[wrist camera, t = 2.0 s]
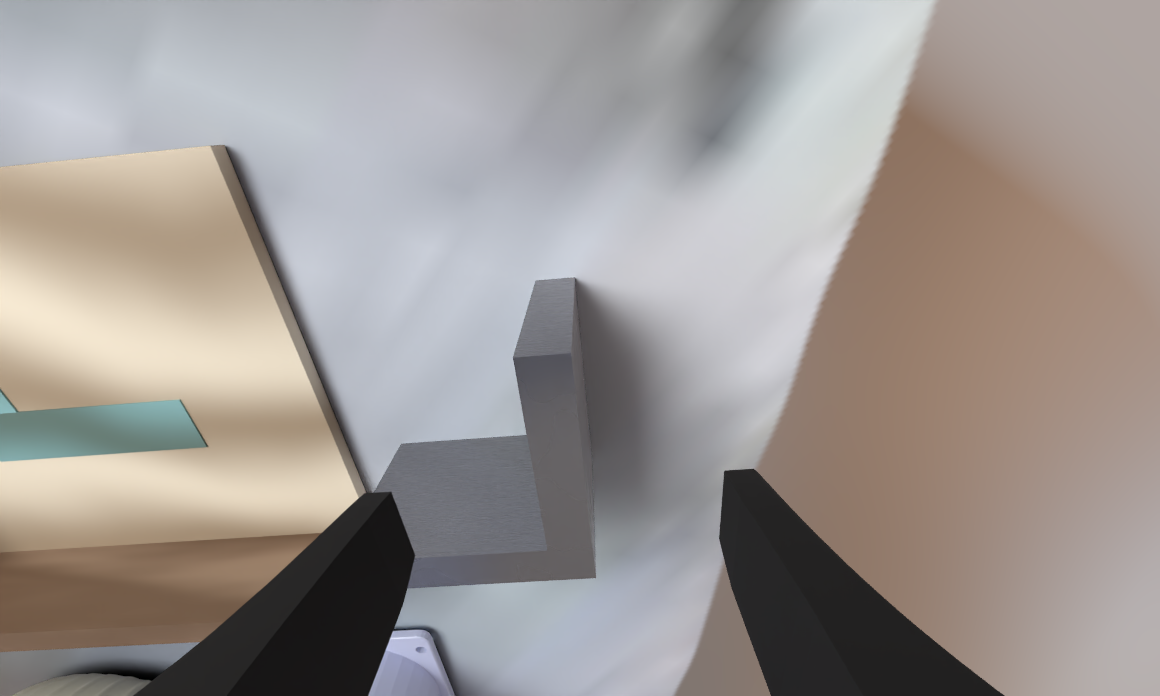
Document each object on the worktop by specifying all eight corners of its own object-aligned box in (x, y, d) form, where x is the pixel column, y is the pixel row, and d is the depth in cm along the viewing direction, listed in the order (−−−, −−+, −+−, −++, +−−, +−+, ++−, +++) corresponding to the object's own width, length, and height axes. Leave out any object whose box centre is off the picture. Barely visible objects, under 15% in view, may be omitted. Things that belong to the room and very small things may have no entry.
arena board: (384, 536, 19) (379, 548, 18) (-19, 561, 19) (-35, 572, 19) (224, 145, 12) (208, 145, 11) (-381, 206, 13) (-421, 209, 12)
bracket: (592, 456, 17) (595, 577, 12) (409, 468, 17) (348, 591, 13) (574, 277, 14) (571, 352, 9) (351, 296, 14) (242, 378, 9)
